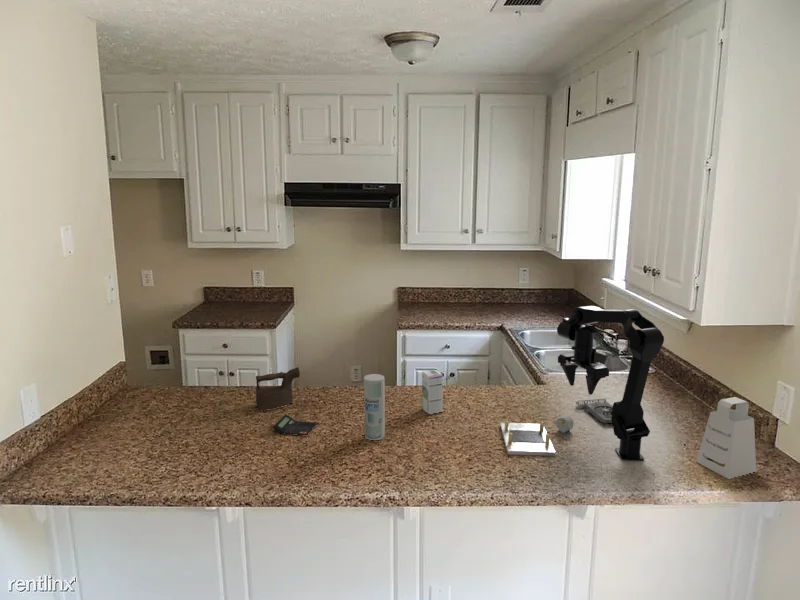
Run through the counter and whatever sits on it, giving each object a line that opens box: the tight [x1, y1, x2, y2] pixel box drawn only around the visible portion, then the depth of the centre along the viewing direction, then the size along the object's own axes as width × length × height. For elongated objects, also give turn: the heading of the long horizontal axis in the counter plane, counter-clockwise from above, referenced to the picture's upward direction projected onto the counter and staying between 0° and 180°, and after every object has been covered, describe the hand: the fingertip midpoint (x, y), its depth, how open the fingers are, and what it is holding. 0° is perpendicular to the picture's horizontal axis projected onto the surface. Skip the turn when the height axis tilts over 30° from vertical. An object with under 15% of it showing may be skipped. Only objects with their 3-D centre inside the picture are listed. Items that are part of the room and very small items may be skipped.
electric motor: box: [552, 414, 575, 434], centre depth 174 cm, size 7×5×5 cm
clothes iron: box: [255, 366, 301, 411], centre depth 196 cm, size 8×16×13 cm, turn 113°
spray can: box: [363, 373, 386, 441], centre depth 169 cm, size 6×6×20 cm
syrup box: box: [421, 369, 443, 415], centre depth 190 cm, size 6×6×14 cm
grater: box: [695, 396, 757, 480], centre depth 150 cm, size 10×10×20 cm
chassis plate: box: [499, 419, 556, 457], centre depth 169 cm, size 20×14×4 cm
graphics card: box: [575, 398, 613, 424], centre depth 187 cm, size 17×4×12 cm
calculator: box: [272, 414, 317, 436], centre depth 177 cm, size 9×12×3 cm
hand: (581, 389), depth 177 cm, fingers open, 9 cm apart
